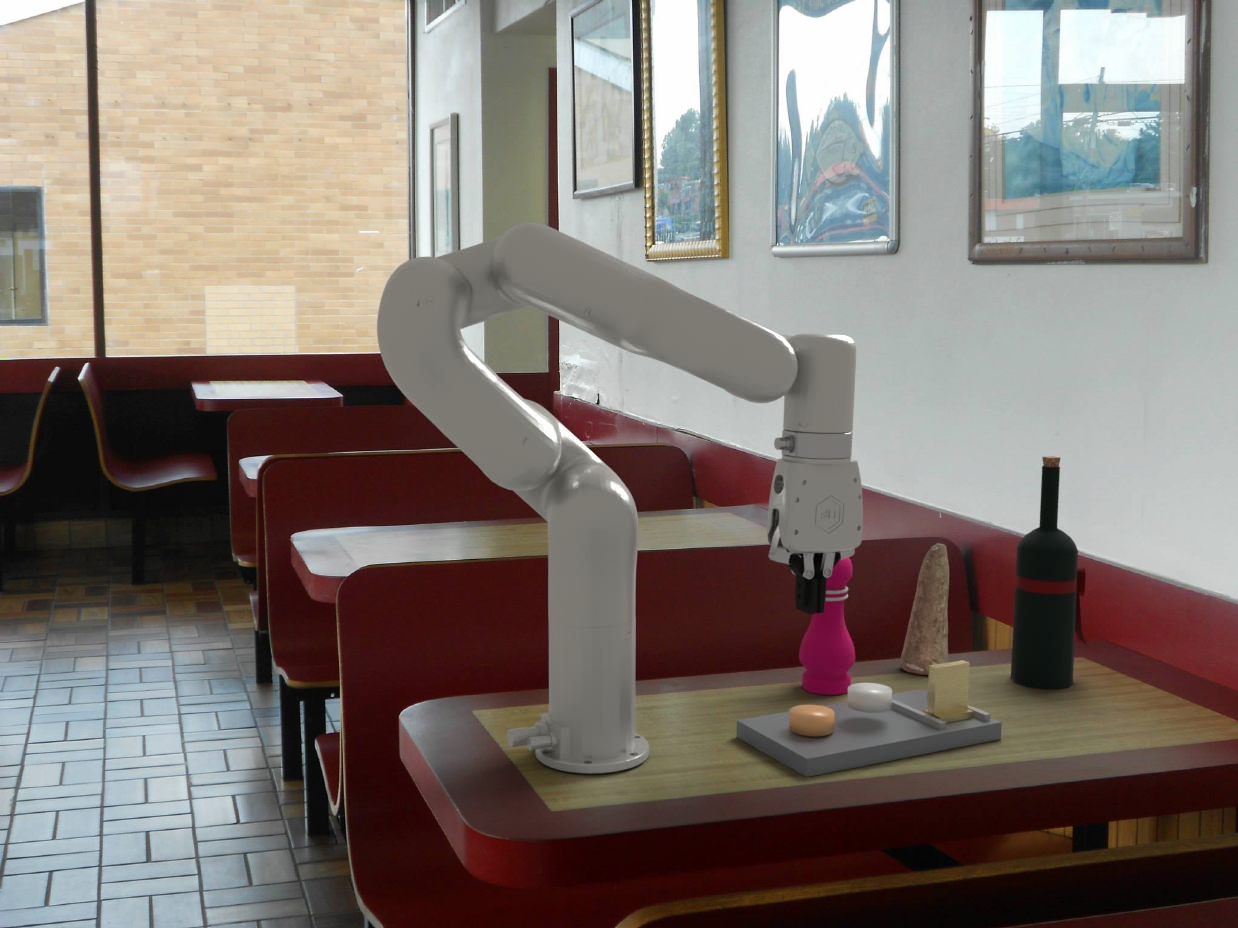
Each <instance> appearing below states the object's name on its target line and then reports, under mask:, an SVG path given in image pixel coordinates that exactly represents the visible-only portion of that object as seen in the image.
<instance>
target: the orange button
mask: <svg viewBox="0 0 1238 928" xmlns="http://www.w3.org/2000/svg"><path fill="white" fill-rule="evenodd" d="M824 706H825V705H818V704H799V705H795V706H792V707H790V709H789V711H788V712H789V729H790V730H791V731H792V732H794V733H796V734H800V735H805V736H825V735H829V734H831V733H833V732H834V715H835V713H834V711H833V710H832V709H830V708H828V707H824Z"/></svg>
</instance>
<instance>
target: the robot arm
mask: <svg viewBox="0 0 1238 928" xmlns="http://www.w3.org/2000/svg"><path fill="white" fill-rule="evenodd" d="M527 307H530V308H532V309H534V310H535V311H536V310H537V311H539V312H541V313H543V314H545V315H547V316H549V317H552V318H554V319H556V320H559V321H561V322H563V323H565V324H568V325H569V326H572V327H574V328H576V329H578V330H581V331H583V332H585V333H587V334H589V335H591V336H593V337H596V338H598V339H600V340H602V341H604V342H606V343H608V344H611V345H612V346H615V347H618V348H620V349H623V350H624V351H627V352H629V353H631V354H635V355H638V356H642V357H646V358H650V359H653V360H655V361H659V362H661V363H665V364H666V365H669V366H671V367H674V368H675V369H677V370H680V371H682V372H683V371H684V372H686V373H688V374H690V375H691V376H694V377H696V378H699V379H701V380H703V381H705V382H707V383H710V384H711V385H713V386H716V387H719V388H721V390H724V391H725V392H726V393H728V394H730V395H732V396H733V397H736V398H739V399H742V400H745V401H747V402H749V403H753V404H754V403H755V404H768V403H772V402H775V401H777V400H779V399H781V398H782V397H784V398H783V399H784V403H783V424H782V432H781V435H782V436H781V437H776V438H775V439H774V442H773V443H774V444H773V445H774V448H775V450H777V451H781V458H777V461H776V464H775V467H774V471H773V476H772V481H771V487H770V493H769V501H768V508H767V509H768V511H767V521H766V522H767V523H766V525H767V526H766V527H767V528H766V529H767V530H766V531H767V532H766V535H767V541H768V543H769V545H770V549H769V551H768V552H769V553H768V558H769V560H771V561H774V562H777V563H781V564H786V565H787V567H788V568H789V569H790V571H791V573H792V574H793V575H795V587H794V588H795V590H794V600H795V601H794V602H795V608H796V610H798V611H800V612H803V613H805V614H808V615H812V614H815V613H818V614H821V613H824V603H825V599H826V578H828V577H830V576H831V574H832V569H833V568H834V567H835V565H836V564H837V563H838V562H839V560H843V559H845V558H848V557H849V558H851V557H852V556H854V555H855V552H856V551H855V550H856V549H857V548H858V547H860V545H861V544H862V541H863V534H864V533H863V531H864V508H863V507H864V506H863V501H864V500H863V487H862V479H861V478H862V477H861V471H860V467H859V463H858V460H857V459H853V458H852V453H853V430H854V411H855V410H854V409H855V390H856V389H855V387H856V370H857V368H856V366H857V346H856V343H855V340H853V338H852V337H850V336H847V335H844V334H837V333H835V334H833V333H815V332H814V333H798V334H795V335H788V334H778V333H776V332H774V331H772V330H771V329H768V328H766V327H764V326H762V325H760V324H758V323H755V322H753V321H751V320H749V319H746V318H744V317H743V316H740V315H738V314H736V313H734V312H732V311H729V310H727V309H725V308H723V307H720V306H718V305H716V304H714V303H711V302H709V301H708V300H705V299H704V298H701V297H699V296H697V295H694V294H692V293H690V292H688V291H686V290H684V289H681V288H679V287H678V286H676V285H674V284H673V283H671V282H669V281H667V280H665V279H662V278H661V277H659V276H656V275H654V274H652V273H650V272H649V271H646V270H643V269H642V268H639V267H637V266H635V265H633V264H630V263H629V262H625V261H623V260H622V259H620V258H618V257H615V256H613V255H611V254H608V253H606V252H604V251H603V250H600V249H598V248H597V247H594V246H592V245H589V244H587V243H585V242H583V241H582V240H579V239H577V238H575V237H572V236H571V235H568V234H566V233H564V232H562V231H560V230H558V229H556V228H553V227H551V226H549V225H547V224H546V225H545V224H543V223H539V222H533V221H532V222H522V223H518V224H516V225H514V226H512V227H511V228H510V229H508V230H506V232H504V233H503V234H502V235H499V236H497V237H494V238H491V239H489V240H487V241H484V242H481V243H477V244H475V245H471V246H469V247H465V248H462V249H458V250H456V251H452V252H449V253H445V254H443V255H439V256H436V257H435V256H434V257H433V256H418V257H413V258H412V259H409V260H407V261H405V262H403V263H402V264H400V265H399V266H398V267H397V268H396V269H395V270H394V271H393V272H392V273H391V275H390V276H389V278H388V280H387V281H386V284H385V285H384V288H383V291H382V293H381V298H380V303H379V305H378V312H377V321H376V335H377V336H376V337H377V344H378V349H379V352H380V355H381V359H382V361H383V364H384V367H385V369H386V371H387V372H388V374H389V376H390V377H391V379H392V382H394V384H395V386H396V387H397V388H398V389H399V391H401V393H402V394H403V395H404V397H406V399H407V400H408V401H409V402H410V403H412V405H413V406H414V407H415V408H417V410H419V412H421V414H423V415H424V416H425V417H426V419H428V420H429V421H430V422H431V423H432V424H433V425H434V426H435V427H436V428H437V429H438V430H439V431H440V432H441V433H442V434H443V435H444V436H445V437H446V438H447V439H449V441H451V442H452V443H453V444H454V445H455V447H457V448H459V450H460V451H461V452H462V453H464V455H465V456H467V458H469V459H470V460H471V461H472V462H473V463H474V464H475V465H476V466H477V467H478V468H479V469H480V470H481V471H482V473H483V474H484V475H485V476H486V477H487V478H488V479H489V480H490V481H491V482H492V483H494V484H496V485H497V486H499V487H501V488H503V489H506V490H509V491H513V492H514V493H515V494H516V495H517V496H519V497H520V498H521V500H523V502H525V503H526V504H527V505H529V506H530V507H531V508H532V509H533V510H534V511H535V512H536V513H537V514H539V515H540V517H541V518H543V519H544V520H545V521H546V522H547V543H548V548H547V549H548V551H547V552H548V554H547V555H548V556H547V558H548V559H547V561H548V565H547V567H548V568H547V569H548V571H547V573H548V574H547V575H548V577H547V578H548V579H547V582H548V583H547V585H548V586H547V588H548V589H547V592H548V593H547V594H548V595H547V597H548V598H547V600H548V601H547V603H548V604H547V607H548V610H547V611H548V613H547V614H548V615H547V616H548V618H547V619H548V712H544V713H541V714H540V722H535V723H533V726H530V727H529V726H528V727H517V728H511V729H508V730H507V733H506V740H507V744H508V746H509V747H510V748H515V747H520V746H526V747H527V749H528V750H529V751H534V752H535V757H536V758H537V760H538V762H540V763H541V764H543V765H545V766H547V767H549V768H551V769H554V770H558V771H563V772H566V773H567V772H568V773H575V774H592V775H593V774H608V773H615V772H621V771H624V770H629V769H632V768H634V767H637V766H639V765H640V764H643V763H644V762H645V761H646V760H647V758H649V755H650V744H649V742H648V740H647V739H646V738H645V737H644V736H642V735H640V734H638V733H637V732H636V634H637V632H636V631H637V630H636V622H637V621H636V618H637V617H636V585H637V584H636V580H637V561H638V559H637V558H638V546H639V517H638V511H637V506H636V502H635V500H634V497H633V496H632V493H631V491H630V490H629V488H628V487H627V486H626V484H625V483H624V481H622V479H621V478H620V477H619V476H618V474H617V473H616V472H614V470H613V469H612V468H611V467H609V466H608V465H607V464H606V463H605V462H604V461H603V460H602V459H601V458H600V457H598V456H597V455H596V453H594V452H593V451H592V450H591V449H590V448H589V447H588V446H587V445H585V444H584V443H583V442H582V441H581V440H580V439H579V438H578V437H577V436H576V435H574V433H572V432H571V431H570V430H569V429H568V428H567V427H566V426H565V425H564V424H563V423H562V422H561V421H560V420H558V418H556V417H555V416H554V415H553V414H552V413H551V412H550V411H549V410H547V409H546V408H545V407H544V406H542V405H540V404H539V403H537V402H535V401H533V400H531V399H530V400H529V399H525V398H523V397H522V396H521V395H520V394H519V393H518V392H516V390H514V389H513V388H512V386H510V385H509V384H508V383H506V382H505V381H504V380H503V378H501V377H499V376H498V374H497V373H495V371H494V370H493V369H492V368H491V367H490V366H489V365H488V364H487V363H486V362H485V361H483V360H482V359H481V357H480V356H478V355H477V354H476V353H475V352H474V351H473V350H472V349H471V348H470V347H469V345H468V344H467V343H466V341H465V339H464V338H463V334H462V331H461V330H462V329H466V328H469V327H472V326H474V325H477V324H481V323H484V322H487V321H491V320H493V319H496V318H499V317H503V316H505V315H508V314H511V313H514V312H516V311H520V310H522V309H525V308H527ZM787 550H788V551H789V552H788V551H787Z"/></svg>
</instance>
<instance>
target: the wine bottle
mask: <svg viewBox="0 0 1238 928" xmlns="http://www.w3.org/2000/svg"><path fill="white" fill-rule="evenodd" d="M1041 458H1042V466H1041V481H1040V483H1041V484H1040V506H1039V507H1040V509H1039V527H1037V528H1034V529H1032V530H1031V531H1030V532H1028V533H1026V534H1024V536H1023V538H1022V539H1020V541H1019V543H1018V545H1017V547H1016V563H1015V583H1014V601H1013V602H1014V604H1013V626H1012V641H1011V642H1012V647H1011V663H1010V664H1011V665H1010V667H1011V668H1010V679H1011V680H1012V681H1013V683H1016V684H1018V685H1022V686H1025V687H1028V688H1034V689H1039V690H1040V689H1041V690H1061V689H1065V688H1070V687H1071V686H1072V684H1074V683H1073V682H1074V663H1075V661H1074V660H1075V639H1076V638H1075V635H1076V637H1077V639H1078V642H1079V644H1080V645H1081V644H1082V643H1083V644H1084V645H1085V647H1088V645H1087V642H1086V639H1085V636H1084V634H1083V629H1082V628H1083V627H1082V614H1081V597H1084V595H1085V592H1086V577H1087V576H1086V568H1085V567H1078V561H1079V560H1078V559H1079V549H1078V547H1077V544H1076V542H1075V541H1074V540H1073V539H1072V537H1071V536H1070V535H1068V533H1066V532H1064V531H1063V530H1061V529H1059V528H1058V518H1059V496H1060V495H1059V494H1060V475H1061V474H1060V472H1061V471H1060V470H1061V467H1060V462H1061V457H1059V456H1052V455H1050V456H1042V457H1041Z"/></svg>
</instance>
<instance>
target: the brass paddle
mask: <svg viewBox="0 0 1238 928" xmlns="http://www.w3.org/2000/svg"><path fill="white" fill-rule="evenodd" d="M970 666H971V663H970V662H969V661H966V660H963V659H962V660H961V659H960V660H956V661H949V662H948V663H942V664H935V665H929V675H928V686H927V687H928V688H927V692H928V709H925V710H922V712H924V713H926V714H928V715H930V716H933V717H935V718H937V719H940V720H942V721H944V722H946V723H949V722H954V721H959V720H965V719H970V718H973V711H972V710H969V709H968V705H969V693H970V671H971V670H970V669H971V668H970Z"/></svg>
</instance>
